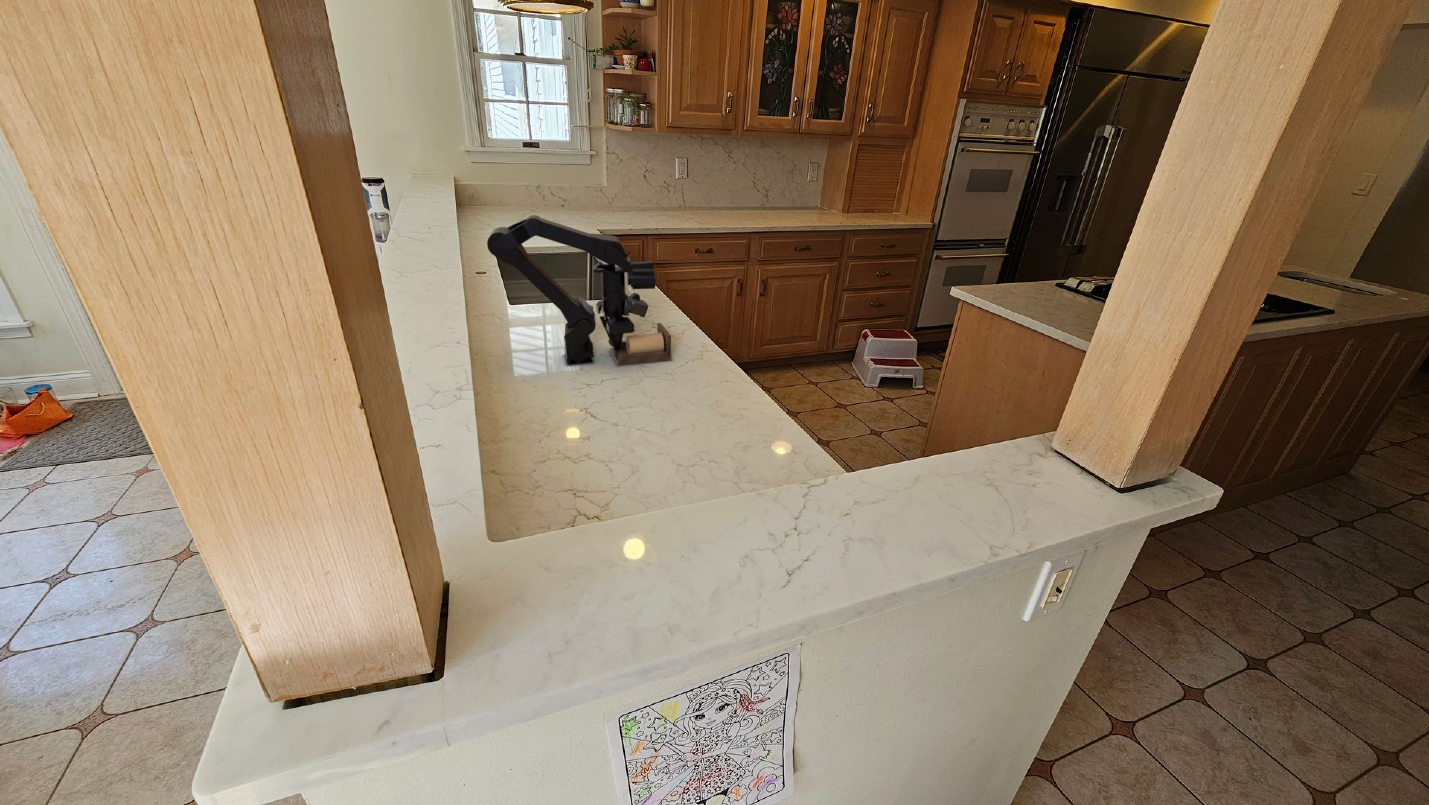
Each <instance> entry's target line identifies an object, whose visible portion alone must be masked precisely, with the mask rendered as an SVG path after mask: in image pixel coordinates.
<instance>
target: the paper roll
mask: <svg viewBox="0 0 1429 805" xmlns="http://www.w3.org/2000/svg"><path fill="white" fill-rule="evenodd" d="M625 341H626V347H627V352H628V354H629V355H630V354H640V353H650V352H661V351H663V350H664V340H663V336H662V333H657V332H653V333H641V334H631V335H626V339H625Z"/></svg>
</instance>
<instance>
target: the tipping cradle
mask: <svg viewBox="0 0 1429 805" xmlns="http://www.w3.org/2000/svg"><path fill="white" fill-rule="evenodd" d="M656 326H657V327H656V328H657V329H656V333H662V336H663V340H664V350H663V351H661V352H650V353H640V354H630V355H629V354H628V352H627V347H626V340H625V341H624V340H623V341H622V342H621V345H620V349H619V350H618V351H615V349H614V347H613V345H612V342H611V340H610V338H609V337H608V339H607V340H608V344H609V346H610V348H609V349H610V353H611V355H612V357H613V359H614V361H615V363H616V365H617V366H618V367H620V366H629V365H630V366H631V365H640V364H648V363H659V362H667V361H668V362H669V361H672V335H671V334H670V332H669V331H668V330H667V328H666V327H665V326H664V325H663V324H662V323H661V322H657V324H656Z"/></svg>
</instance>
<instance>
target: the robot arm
mask: <svg viewBox="0 0 1429 805" xmlns="http://www.w3.org/2000/svg"><path fill="white" fill-rule="evenodd" d="M534 237H539V238H542V239H545V240H549V241H551V242H556V243H559V244H561V245H565V246H568V247H571V248H574V249H577V250H580V251H583V252H586V253H587V254H589V255H591V256H592V257H594V258H595V259H597V260H598V262H597V263H596V264H595V265H594V266H593V267H592V270H593V273H594V274H600V280H601V290H600V291H599V292H600V297H601V300H598V301H597V302H596V304H595V311H596V313H597V314H598V315H600V316H599V320H600V322H601V324H602V326H603V328H604V330H605V333H606V335H607V337H608V339H609V338H610V340H611V342H612V345H613V347H612V348H614V349H615V351H618V350H619V349H620V345H621V342H623V337H624V335H625V334H633V333H635V324H634V322H633V321H632V319H631V318H630V314H632V315H636V316H639V317H640V318H645V317H646V316H647V312H648V309H649V307H650V306H649V304H648V303H647V302H646V301H645V300H643V299H641V295H640V294H639V293H636V292H632V293H631V294H630V295H629V296H628V295H626V293H625V272H627V283H628V286H630V288H631V290H656V276H655V263H654V261H653V260H645V261H632V260H631V257H630V256H628V254H627V253H626V252H625V248H624V244H623V242H622V240H621V239H620V238H619V237H618V236H615V235H610V234H604V233H590V232H586V231H583V230H579V229H577V228H573V227H570V226H567V225H564V224H561V223H558V222H556V221H551V220H548V219H545V218H542V217H540V216H539V215H535V214H531V215H529V216H528V217H527V218H525V219H522V220H521V221H518V222H516V223H513V224H511V225H509V226H499V227H496V228H494V229H493V230H492V232H490V235H489V236H488V238H487V240H486V241H487V242H486V243H487V244H486V245H487V246H486V247H487V250H488V251H489V252H490V254H491V255H493V256H494V257H495V258H496V259H498V260H499V261H501V262H502V263H504V264H506V265H508V266H510V267H512V268H514V269H516V270H517V271H518V272H519V273H520V274H522V276H524V277H525V278H526V279H527V280H528V282H530V283H531V284H532V285H533V286H534V287H535V288H536V289H538V290H539V292H541V293H542V294H543V295H544V296H545V297H546V298H547V299H548V300H549V301H550V302H551V303H552V304H553V305H554V306H555V307H556V308H557V309H558V310H559V311H560V313H561V314H562V316H563V318H564V319H565V321H566V323H565V325H564V336H563V344H564V354H563V356H564V360H565V363H566V365H568V366H574V365H583V364H584V365H585V364H593V363H594V360H593V358H594V343H593V341H592V339H591V337H590V335H591V334H593V333H594V331H595V330H596V327H597V326H596V325H597V324H596V321H597V320H596V313H595V311H594V306H593V305H590V304H589V303H588V302H587V301H586V299H585V298H584V297H583V296H580V298H579V299H576V298H575V297H572V296H571V295H570V294H569V293H568V292H567V291H566V290H565V289H564V288H563V287H562V286H561V285H560V284H559V283H558V282H557V281H555V279H554V278H552V277H551V275H549V274H548V273H547V272H546V270H544V268H542V267H541V266H540V265H539V264H538V262H536V261H535V260H534V259H533V258H532V257H531V256H530V254H529V253H528V252H527V250H526V248H525V247H524V245H523V244H524V243H525V242H527V241H528V240H531V239H532V238H534ZM604 263H607V264H604ZM615 265H617V266H619V267H615ZM601 313H602V315H601ZM622 315H624V316H629V318H628V317H623V316H622Z"/></svg>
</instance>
